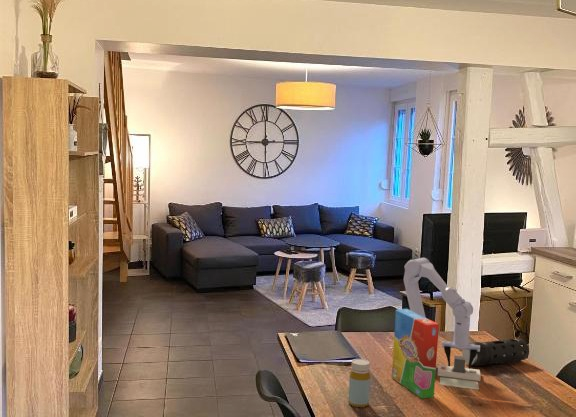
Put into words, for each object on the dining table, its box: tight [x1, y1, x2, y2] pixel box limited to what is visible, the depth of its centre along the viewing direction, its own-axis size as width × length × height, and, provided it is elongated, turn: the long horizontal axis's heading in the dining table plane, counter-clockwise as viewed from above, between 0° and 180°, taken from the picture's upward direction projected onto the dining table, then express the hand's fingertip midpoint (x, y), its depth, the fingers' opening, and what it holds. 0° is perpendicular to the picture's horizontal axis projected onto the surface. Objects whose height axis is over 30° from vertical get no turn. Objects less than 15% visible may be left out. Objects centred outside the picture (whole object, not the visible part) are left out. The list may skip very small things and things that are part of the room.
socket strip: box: [437, 364, 482, 382], centre depth 239 cm, size 16×7×3 cm, turn 75°
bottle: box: [347, 358, 371, 408], centre depth 208 cm, size 7×7×15 cm
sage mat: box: [439, 376, 480, 391], centre depth 230 cm, size 14×8×1 cm, turn 75°
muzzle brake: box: [461, 337, 530, 367], centre depth 254 cm, size 10×28×10 cm, turn 112°
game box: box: [391, 308, 440, 399], centre depth 225 cm, size 21×6×27 cm, turn 22°
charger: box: [453, 355, 466, 373], centre depth 239 cm, size 4×4×7 cm
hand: (459, 366), depth 239 cm, fingers open, 7 cm apart
